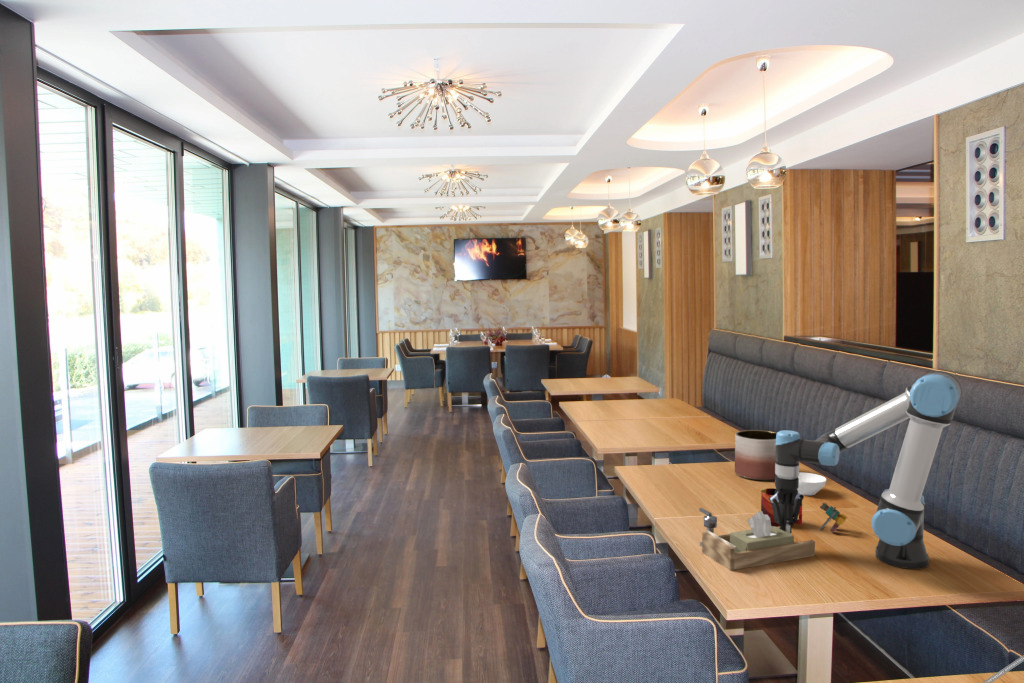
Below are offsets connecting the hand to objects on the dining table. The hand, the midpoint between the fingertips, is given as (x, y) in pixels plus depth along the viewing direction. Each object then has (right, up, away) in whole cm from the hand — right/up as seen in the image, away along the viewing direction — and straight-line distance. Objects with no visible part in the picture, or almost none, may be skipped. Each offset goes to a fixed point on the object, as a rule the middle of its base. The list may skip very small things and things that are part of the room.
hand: (785, 542), depth 224 cm
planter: (+25, +5, +89) cm, 93 cm away
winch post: (-26, -2, +5) cm, 26 cm away
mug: (+9, 0, +26) cm, 27 cm away
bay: (-10, -3, -4) cm, 11 cm away
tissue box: (-10, -3, -5) cm, 12 cm away
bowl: (+35, +3, +61) cm, 70 cm away
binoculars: (+24, -1, +16) cm, 29 cm away
